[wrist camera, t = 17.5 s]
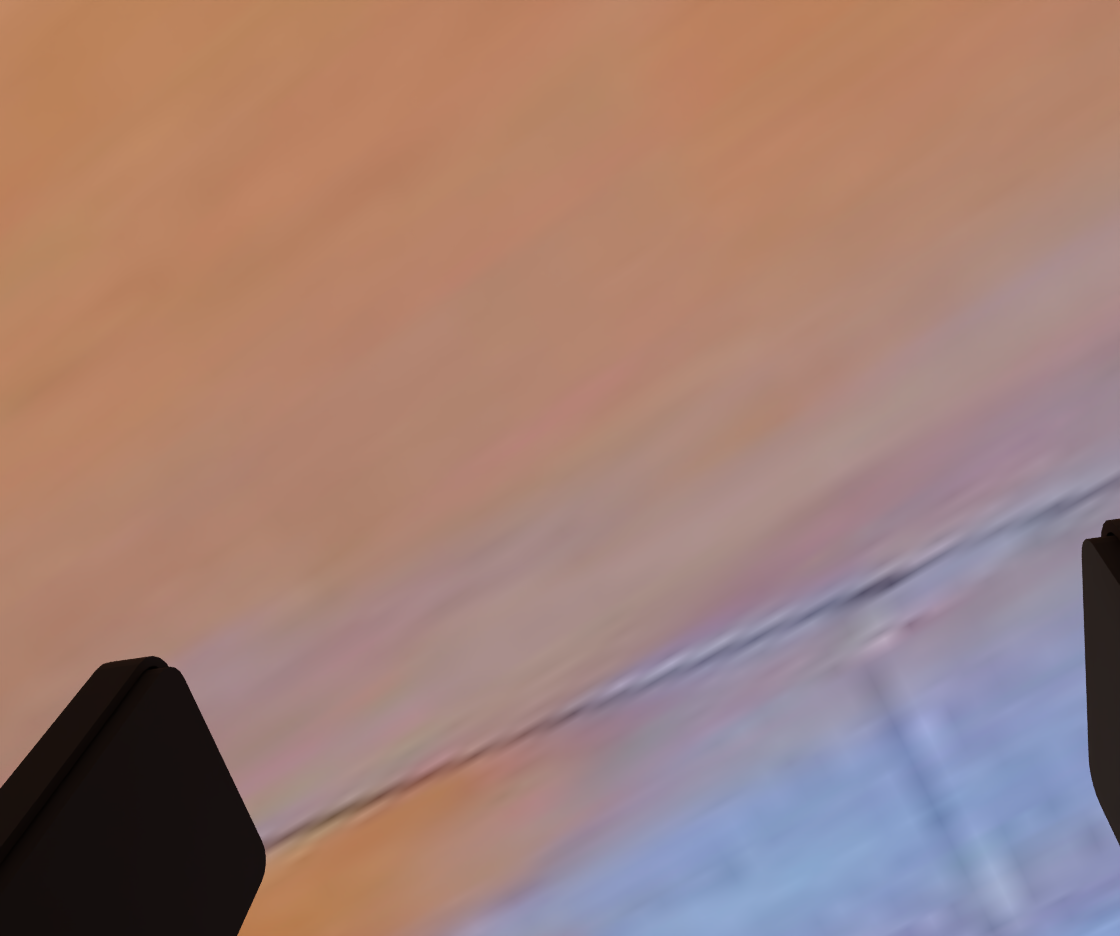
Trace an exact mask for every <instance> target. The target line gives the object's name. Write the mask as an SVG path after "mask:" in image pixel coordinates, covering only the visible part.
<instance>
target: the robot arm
mask: <svg viewBox="0 0 1120 936" xmlns="http://www.w3.org/2000/svg"><path fill="white" fill-rule="evenodd" d="M1082 577H1083V606H1084V635H1085V664H1086V693H1087V722H1088V751H1089V767H1090V772H1091V778H1092V782H1093V786H1094V789H1095V792H1096V795H1097V798H1098V800H1099V803H1100V805H1101V807H1102V809H1103V811H1104V813H1105V815H1106V818H1107V820H1108V822H1109V824H1110V826H1111V828H1112V830H1113V832H1114V835H1115V837H1116V839H1117V841H1118V843H1119V845H1120V519H1113V520H1107V521H1106V522H1105V523H1104V524H1103V528H1102V531H1101V537H1098V538H1091V539H1085V540H1084V542H1083V545H1082ZM265 866H266V855H265V849H264V845H263V843H262V840H261V838H260V836H259V834H258V832H257V830H256V828H255V825H254V823H253V821H252V819H251V817H250V815H249V813H248V811H247V809H246V807H245V804H244V802H243V800H242V798H241V796H240V794H239V792H238V790H237V788H236V786H235V784H234V781H233V779H232V777H231V775H230V773H229V771H228V769H227V767H226V765H225V763H224V760H223V758H222V756H221V754H220V752H219V750H218V748H217V746H216V744H215V742H214V739H213V737H212V735H211V733H210V731H209V729H208V727H207V725H206V723H205V721H204V719H203V716H202V714H201V712H200V710H199V708H198V706H197V704H196V702H195V700H194V698H193V695H192V693H191V691H190V689H189V687H188V685H187V683H186V681H185V679H184V677H183V675H182V674H181V672H180V671H179V670H177V669H176V668H174V667H169V666H168V665H167V663H166V662H164V661H163V660H162V659H161V658H159V657H155V656H149V657H142V658H135V659H128V660H121V661H114V662H109V663H105V664H103V665H101V666H100V667H99V668H98V669H97V670H96V671H95V672H94V673H93V675H92V676H91V677H90V678H89V680H88V681H87V682H86V683H85V684H84V686H83V687H82V688H81V689H80V691H79V692H78V693H77V694H76V696H75V697H74V698H73V699H72V701H71V702H70V703H69V704H68V705H67V707H66V708H65V709H64V710H63V712H62V713H61V714H60V715H59V717H58V718H57V719H56V720H55V722H54V723H53V724H52V725H51V727H50V728H49V729H48V730H47V731H46V733H45V734H44V735H43V736H42V738H41V739H40V740H39V741H38V743H37V744H36V745H35V746H34V748H33V749H32V750H31V751H30V752H29V754H28V755H27V756H26V757H25V759H24V760H23V761H22V762H21V764H20V765H19V766H18V767H17V769H16V770H15V771H14V772H13V773H12V775H11V776H10V777H9V778H8V780H7V781H6V782H5V783H4V785H3V786H2V787H1V788H0V936H237V935H238V933H239V930H240V928H241V926H242V924H243V921H244V919H245V917H246V915H247V913H248V910H249V908H250V906H251V904H252V902H253V899H254V897H255V895H256V893H257V891H258V888H259V886H260V884H261V882H262V879H263V876H264V872H265Z"/></svg>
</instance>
